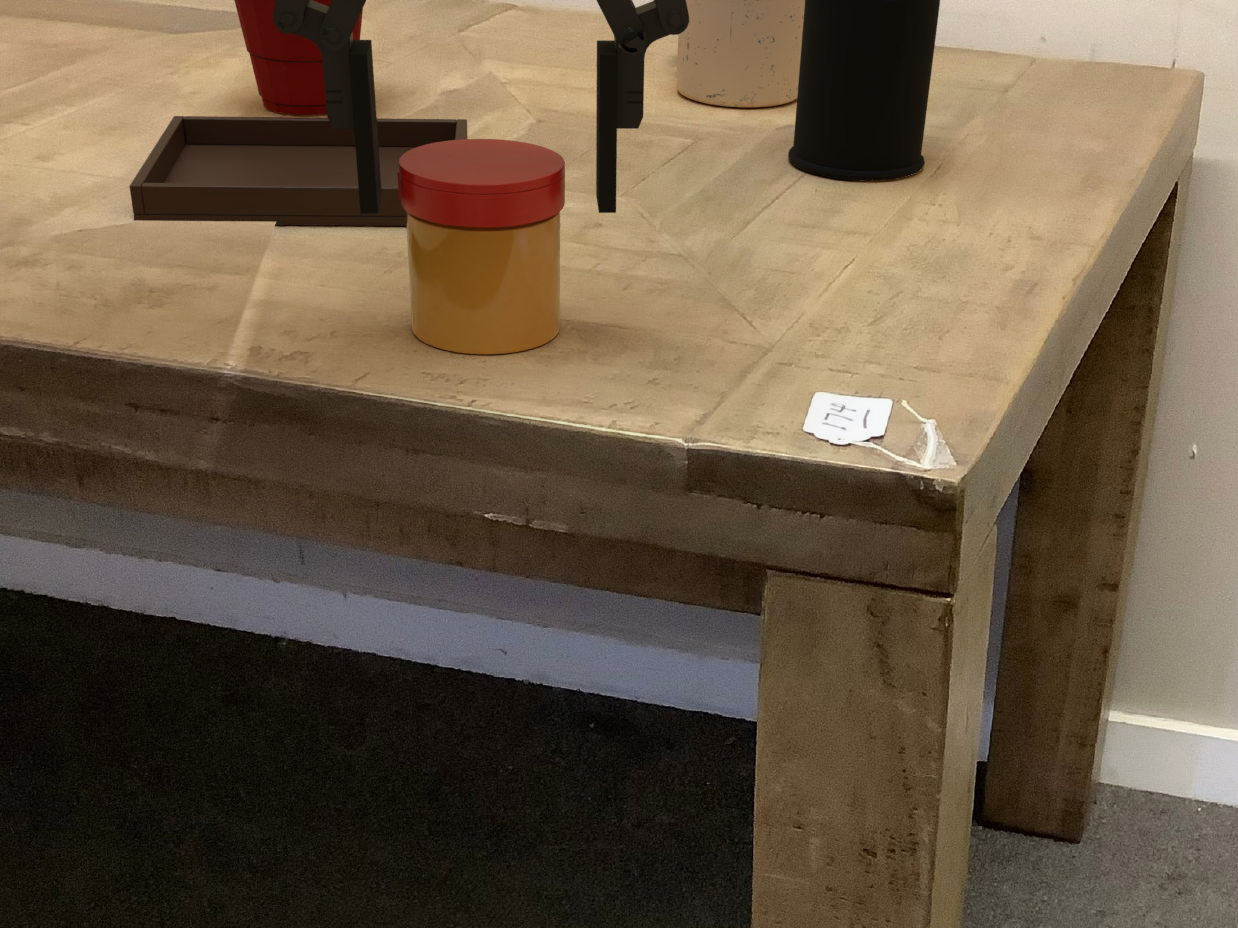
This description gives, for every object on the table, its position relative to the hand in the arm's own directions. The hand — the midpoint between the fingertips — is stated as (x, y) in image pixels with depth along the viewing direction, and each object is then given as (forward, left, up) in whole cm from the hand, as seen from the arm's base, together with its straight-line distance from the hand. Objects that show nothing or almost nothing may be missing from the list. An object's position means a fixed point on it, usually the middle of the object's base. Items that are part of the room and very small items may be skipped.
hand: (489, 203), depth 74 cm
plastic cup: (-12, +40, -6) cm, 42 cm away
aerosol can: (+22, +28, -6) cm, 36 cm away
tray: (-10, +22, -6) cm, 25 cm away
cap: (0, 0, +1) cm, 1 cm away
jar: (0, 0, -6) cm, 6 cm away
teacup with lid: (+16, +46, -6) cm, 49 cm away
